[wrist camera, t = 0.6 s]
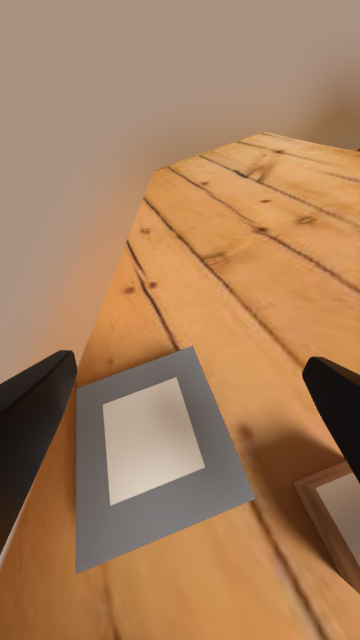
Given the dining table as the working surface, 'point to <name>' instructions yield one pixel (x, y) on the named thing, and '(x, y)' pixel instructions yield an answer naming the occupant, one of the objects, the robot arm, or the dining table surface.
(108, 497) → the plinth
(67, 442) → the dining table surface
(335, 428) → the robot arm
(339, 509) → the walnut cube
